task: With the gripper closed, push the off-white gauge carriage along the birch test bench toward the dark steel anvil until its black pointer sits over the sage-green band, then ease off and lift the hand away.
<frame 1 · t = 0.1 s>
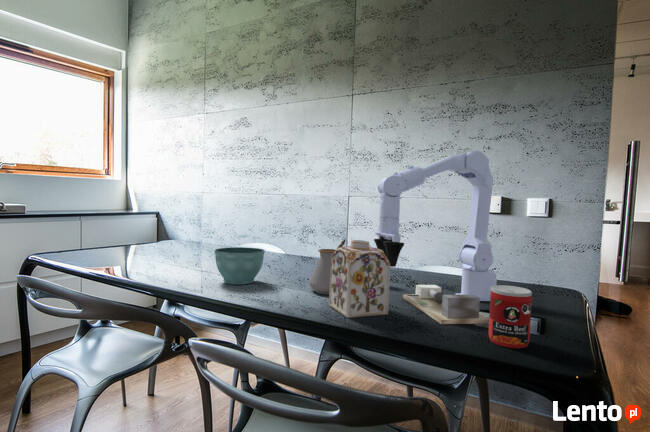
hand: (387, 264, 113), 10 cm above the table, tool pointing down, fingers open, 7 cm apart
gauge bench: (438, 307, 105), on the table
coffee pot: (332, 289, 124), on the table
gauge carriage: (427, 293, 109), point 3 cm above the table, slide at 0.0 cm
canned food: (508, 342, 80), on the table
flower pot: (238, 283, 128), on the table
decorative jar: (357, 311, 100), on the table
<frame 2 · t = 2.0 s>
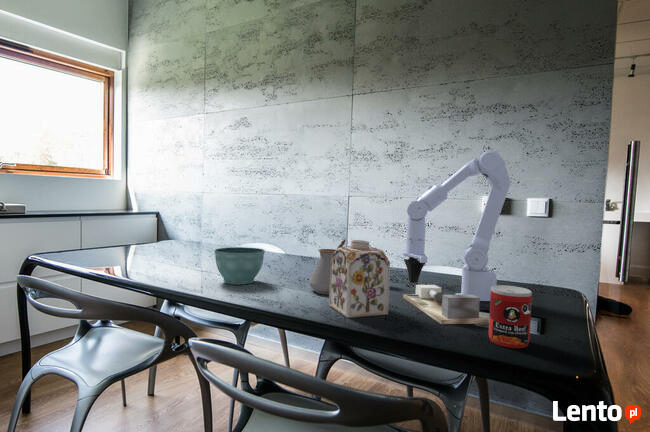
hand: (413, 282, 123), 3 cm above the table, tool pointing down, fingers closed
nothing on the table moved.
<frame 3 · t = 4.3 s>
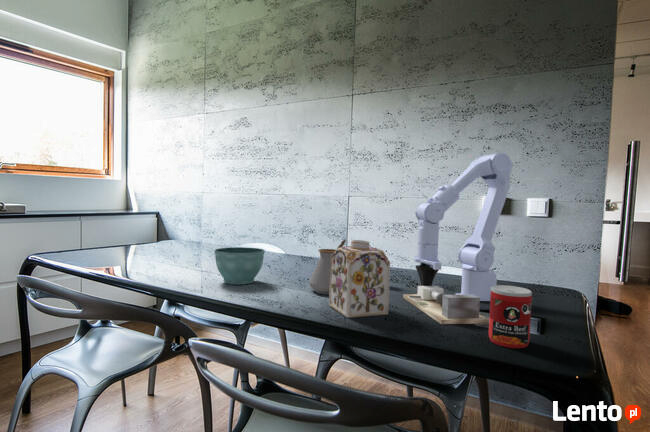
hand: (425, 290, 114), 3 cm above the table, tool pointing down, fingers closed
gauge carriage: (429, 295, 107), point 3 cm above the table, slide at 1.4 cm, touching gripper
everything else where it was.
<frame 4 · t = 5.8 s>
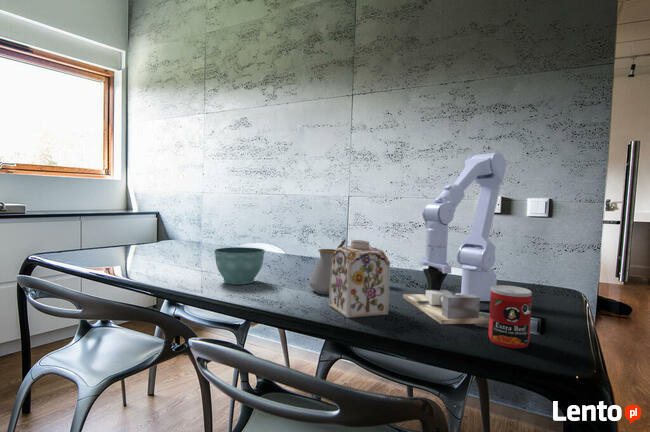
hand: (434, 294, 108), 3 cm above the table, tool pointing down, fingers closed
gauge carriage: (438, 300, 102), point 3 cm above the table, slide at 7.0 cm, touching gripper
everything else where it was.
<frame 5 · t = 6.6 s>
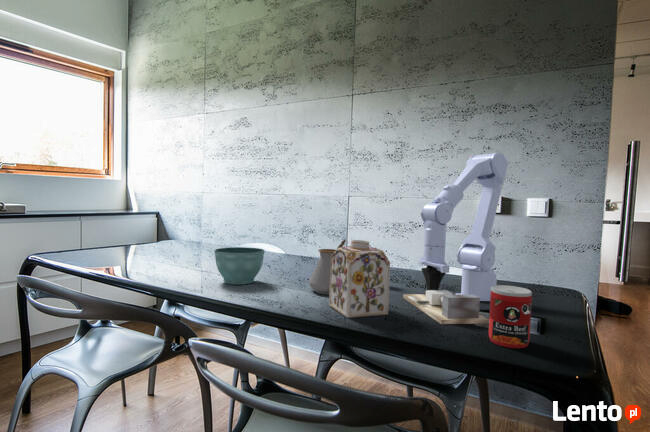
hand: (432, 293, 109), 3 cm above the table, tool pointing down, fingers closed
gauge carriage: (438, 300, 102), point 3 cm above the table, slide at 7.0 cm
everything else where it was.
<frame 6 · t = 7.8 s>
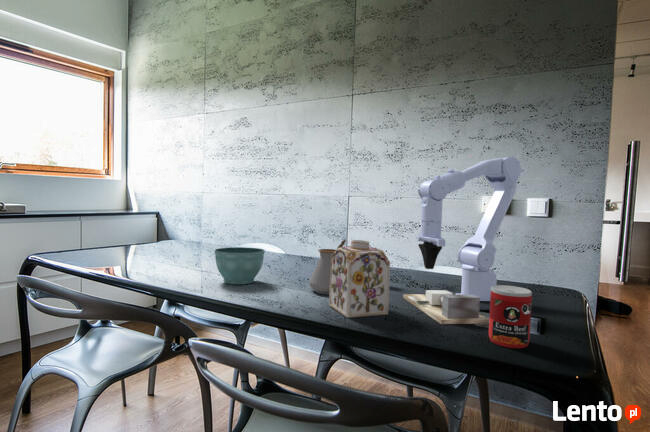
hand: (429, 268, 112), 9 cm above the table, tool pointing down, fingers closed
nothing on the table moved.
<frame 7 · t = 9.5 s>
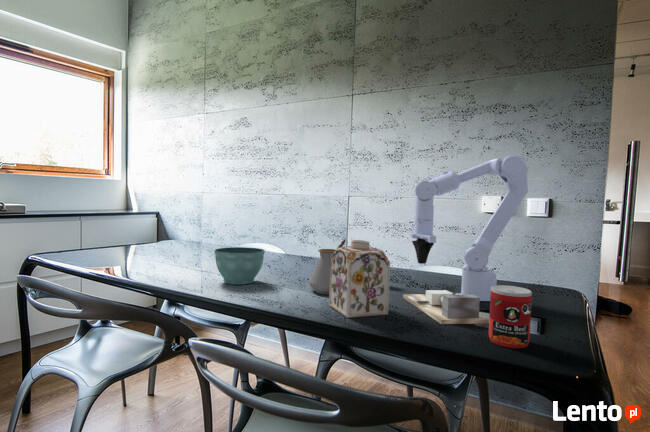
hand: (421, 263, 122), 9 cm above the table, tool pointing down, fingers closed
nothing on the table moved.
at the end: gauge carriage slide at 7.0 cm; the gripper is holding nothing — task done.
